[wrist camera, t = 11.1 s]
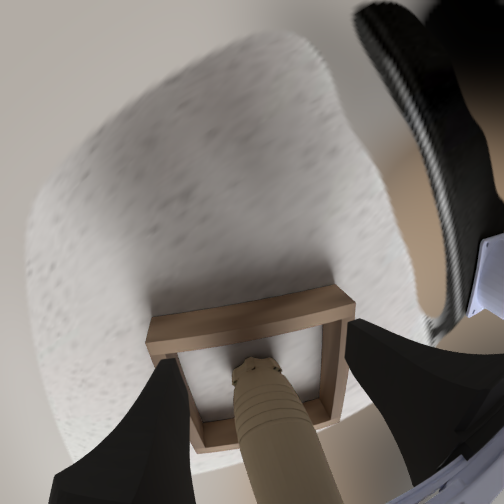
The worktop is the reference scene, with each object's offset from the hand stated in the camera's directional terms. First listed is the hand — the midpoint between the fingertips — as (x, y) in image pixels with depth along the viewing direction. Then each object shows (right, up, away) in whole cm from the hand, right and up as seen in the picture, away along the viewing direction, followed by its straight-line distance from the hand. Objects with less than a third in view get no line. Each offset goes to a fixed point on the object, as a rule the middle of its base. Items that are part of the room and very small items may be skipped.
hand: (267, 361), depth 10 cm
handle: (0, -3, +6) cm, 7 cm away
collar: (0, -3, +6) cm, 7 cm away
